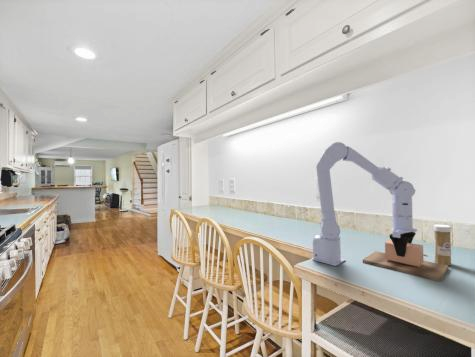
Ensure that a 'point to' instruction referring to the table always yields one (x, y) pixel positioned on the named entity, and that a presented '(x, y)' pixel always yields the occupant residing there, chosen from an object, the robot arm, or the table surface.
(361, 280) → the table surface
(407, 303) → the table surface
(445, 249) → the sprinkles bottle
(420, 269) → the stub board
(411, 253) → the block
